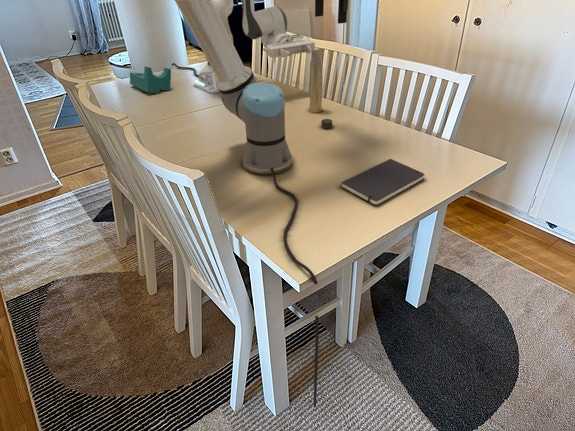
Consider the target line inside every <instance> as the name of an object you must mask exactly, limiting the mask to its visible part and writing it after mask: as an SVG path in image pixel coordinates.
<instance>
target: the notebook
mask: <svg viewBox="0 0 575 431" xmlns="http://www.w3.org/2000/svg"><path fill="white" fill-rule="evenodd" d="M424 176H425V173H424V172H422V171H420V170H417V169H415V168H413V167H410V166H408V165H406V164H404V163H401V162H399V161H397V160H395V159H393V158H389V159H387V160H385V161H382V162H380V163H379V164H377V165H375V166H372V167H370V168H368V169H366V170H364V171H362V172H360V173H358V174H356V175H353V176H351V177H350V178H348V179H345V180H344V181H341V182H340V183H341V184H340V187H341V188H342V189H344V190H345V191H347V192H349V193H350V194H353V195H355V196H356V197H358V198H360V199H362V200H363V201H365V202H367V203H369V204H371V205H373V206H379V205H381V204H382V203H384V202H386V201H388V200H390V199H391V198H393V197H395V196H397V195H398V194H400V193H402V192H404V191H406V190H407V189H409V188H411V187H413V186H415V185H416V184H418V183H420V182H422V181H423V180H424Z"/></svg>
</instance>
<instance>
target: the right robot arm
mask: <svg viewBox="0 0 575 431" xmlns="http://www.w3.org/2000/svg"><path fill="white" fill-rule="evenodd" d="M173 1H174V2H175V5H177V7H178V10H179V11H180V13H181V14H182V16H183V18H184V20H185V22H186V24H187V25H188V27H189V29H190V31H191V33H192V34H193V36H194V38H195V40H196V42H197V43H198V45H199V47H200V49H201V52H202V53H203V54H204V56H205V57H206V58H205V59H207V60H206V61H207V62H208V61H209V63H210V65H211V67H212V69H213V70H214V72H215V74H216V76H217V78H218V82H217V88H218V90H219V92H218V93H220V94H219V95H220V100H221V102H222V104H223V106H224V107H225V108H226V110H228V111H229V113H231V114H233V115H234V116H236V117H237V118H238V119H239V120H240V121H241V122H242V123H244V125H245V136H246V137H245V138H246V143H245V146H244V151H243V155H242V166H243V168H244V170H246V171H247V172H249V173H252V174H254V175H255V174H256V175H262V176H269V175H272V178H273V182H274V186H275V187H276V188H277V189H278V190H279V191H280V192H282V193H285V194H287V195H289V196H291V197H292V198H293V200H294V206H293V209H292V212H291V215H290V218H289V221H288V222H287V224H286V226H285V228H284V231H283V244H284V248H285V249H286V252H287V254H288V255H289V257H290V258H291V260H292V261H293V262H294V263H295V264H296V265H298V266H299V267H301V268H302V269H304V270H305V271H306V272H307V273H308V274H309V276H310V277H311V280H312V281H313V284H314V285H318V284H319V283H318V280H317V278H316V275H315V273H313V271H312V269H310V268H309V267H308V265H307V266H306V265H305V264H304V263H303V262H301V261H299V260H298V259H297V258H296V257H295V255H294V253H293V252H292V250H291V249H290V246H289V244H288V240H287V238H288V237H287V235H288V231H289V229H290V226H291V225H292V223H293V221H294V218H295V215H296V212H297V209H298V204H299V203H298V198H297V196H296V195H295V194H294V193H292V192H291V191H289V190H287V189H284V188H283V187H281V186H280V185H279V184H278V182H277V177H276V175H277V174H280V173H283V172H286V171H287V170H289V169H290V167H291V166H292V163H293V157H292V153H291V150H290V148H289V145H288V143H287V140H286V115H285V114H286V111H285V110H286V108H285V107H286V101H285V95H284V92H283V90H282V88H280V87H279V86H278V85H276V84H273V83H268V82H262V81H261V82H258V81H257V78H256V76H255V74H254V72H253V70H252V69H251V67H249V66H247V65H244V64H243V61H242V59H241V57H240V55H239V53H238V50H237V49H236V47H235V45H234V42H233V43H232V41H231V39H230V37H229V35H228V33H227V31H226V29H225V27H224V25H223V23H222V20H221V18H220V16H219V14H218V12H217V10H216V8H215V6H214V4H213V2H212V0H173ZM324 2H325V0H314V17H316V18H318V17H324V5H325V3H324ZM337 7H338V9H337V24H346V23H347V21H348V10H349V0H338V6H337ZM319 319H320V318H319V316H318V315H315V317H314V320H315V321H314V322H315V325H314V326H315V330H314V331H315V334H314V336H315V338H314V339H315V343H314V374H313V375H314V376H313V378H314V379H313V407H314V408H316V407H317V391H318V390H317V389H318V369H319V368H318V366H319V336H320V335H319V334H320V333H319V332H320V331H319V328H320V327H319V325H320V323H319V322H320V321H319Z"/></svg>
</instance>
